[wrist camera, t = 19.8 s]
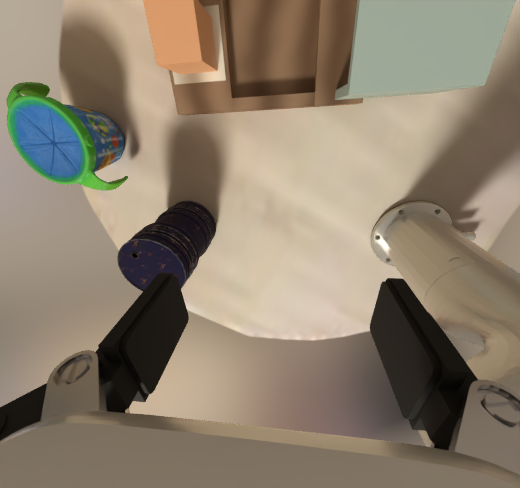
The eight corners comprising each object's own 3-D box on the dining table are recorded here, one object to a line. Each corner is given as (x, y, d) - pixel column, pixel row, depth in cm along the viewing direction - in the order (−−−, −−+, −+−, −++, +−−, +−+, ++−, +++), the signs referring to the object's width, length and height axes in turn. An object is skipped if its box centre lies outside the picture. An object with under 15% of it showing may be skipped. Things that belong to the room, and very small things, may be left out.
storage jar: (227, 229, 43) (201, 276, 30) (194, 254, 47) (159, 306, 34) (189, 189, 40) (142, 223, 27) (157, 220, 44) (103, 262, 31)
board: (376, -47, 24) (387, -68, 22) (356, 104, 31) (362, 102, 28) (161, -17, 27) (147, -32, 25) (186, 115, 34) (177, 114, 31)
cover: (484, -76, 21) (575, -166, 14) (436, 93, 27) (484, 85, 20) (349, -56, 22) (375, -129, 16) (334, 99, 28) (348, 94, 22)
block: (211, 17, 26) (192, -8, 21) (217, 71, 28) (202, 60, 23) (171, 22, 27) (142, -1, 21) (180, 74, 29) (157, 65, 24)
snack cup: (47, 106, 36) (-32, 103, 27) (88, 67, 33) (15, 48, 24) (116, 192, 42) (71, 212, 33) (157, 166, 39) (119, 181, 30)
